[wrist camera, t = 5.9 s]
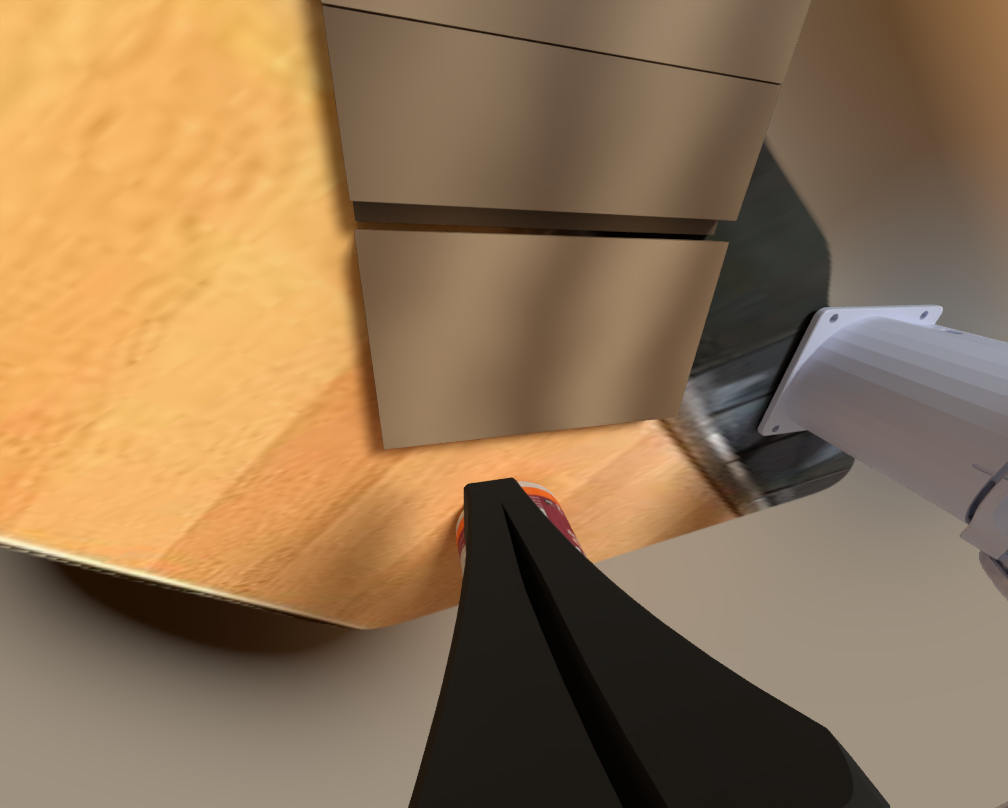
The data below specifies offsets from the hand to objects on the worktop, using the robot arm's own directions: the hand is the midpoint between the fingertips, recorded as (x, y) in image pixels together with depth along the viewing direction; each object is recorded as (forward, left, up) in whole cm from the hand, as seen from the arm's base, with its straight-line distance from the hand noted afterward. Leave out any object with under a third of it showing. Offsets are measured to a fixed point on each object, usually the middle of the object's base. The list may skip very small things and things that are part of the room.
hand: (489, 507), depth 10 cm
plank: (-4, -2, -7) cm, 8 cm away
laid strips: (-4, -11, -7) cm, 14 cm away
